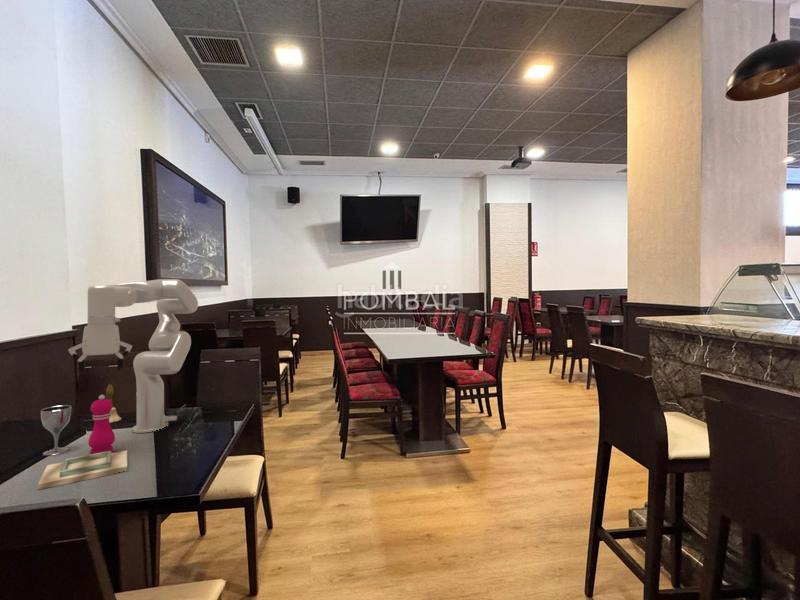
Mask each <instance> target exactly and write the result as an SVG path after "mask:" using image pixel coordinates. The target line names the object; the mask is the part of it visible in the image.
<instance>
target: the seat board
mask: <svg viewBox="0 0 800 600" xmlns="http://www.w3.org/2000/svg"><path fill="white" fill-rule="evenodd" d="M123 471H125V472H128V450H122V451H117V452H112V453H111V451H107V452H102V453H96V454H91V455H90V454H86V455H80V456H75V457H70V458H65V459H64V460H63V462H58V463H56V462H55V463H52V464H47V465H46V467H45V469H44V471H43V473H42V475H41V477H40V478H39V481H38V482H37V483H38V484H37V490H38V491H40V490H44V489H49V488H53V487H59V486H64V485H69V484H72V483H77V482H82V481H86V480H92V479H95V478H96V479H97V478H101V477H102V478H103V477H105V476H111V475H115V474H114V473H116V474H119V473H118V472H121V473H124V472H123Z"/></svg>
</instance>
